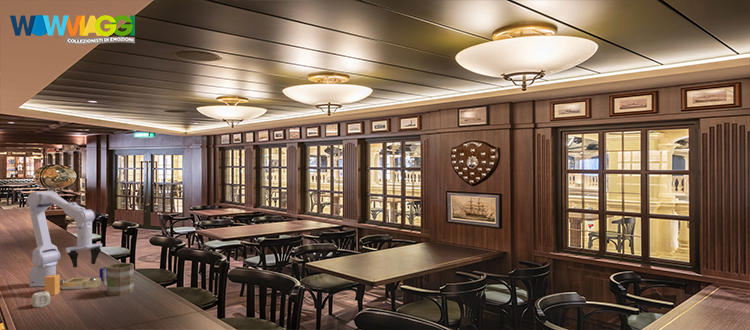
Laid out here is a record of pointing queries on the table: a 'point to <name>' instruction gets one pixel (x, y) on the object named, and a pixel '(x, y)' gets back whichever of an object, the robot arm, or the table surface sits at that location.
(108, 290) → the mug
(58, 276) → the orange rectangular peg
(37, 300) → the die
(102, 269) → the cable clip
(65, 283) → the square frame connector
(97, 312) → the table surface
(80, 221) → the robot arm
